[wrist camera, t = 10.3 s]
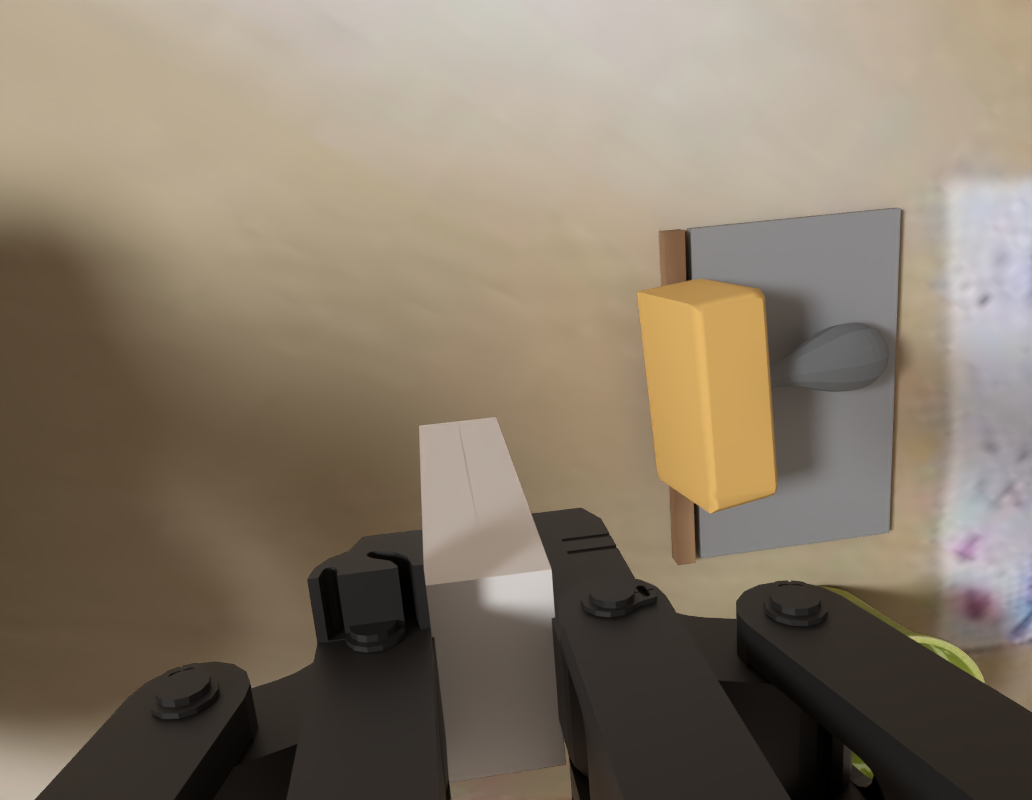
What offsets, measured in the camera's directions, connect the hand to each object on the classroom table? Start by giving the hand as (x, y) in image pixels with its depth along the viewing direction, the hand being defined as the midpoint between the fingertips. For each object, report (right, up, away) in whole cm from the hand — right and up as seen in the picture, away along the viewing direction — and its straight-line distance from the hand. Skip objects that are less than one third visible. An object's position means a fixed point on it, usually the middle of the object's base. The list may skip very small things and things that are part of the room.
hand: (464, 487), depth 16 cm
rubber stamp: (+8, +2, +23) cm, 24 cm away
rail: (+9, +2, +27) cm, 29 cm away
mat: (+16, +2, +28) cm, 32 cm away
